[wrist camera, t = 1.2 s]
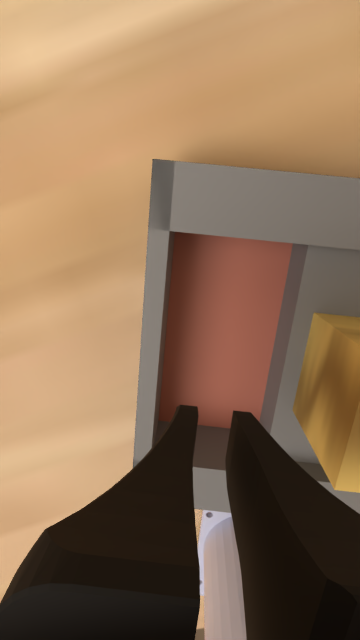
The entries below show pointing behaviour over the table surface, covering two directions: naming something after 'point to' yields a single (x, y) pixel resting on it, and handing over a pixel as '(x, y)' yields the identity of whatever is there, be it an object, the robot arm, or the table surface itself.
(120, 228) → the table surface
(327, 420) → the block
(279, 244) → the trap track
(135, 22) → the table surface
